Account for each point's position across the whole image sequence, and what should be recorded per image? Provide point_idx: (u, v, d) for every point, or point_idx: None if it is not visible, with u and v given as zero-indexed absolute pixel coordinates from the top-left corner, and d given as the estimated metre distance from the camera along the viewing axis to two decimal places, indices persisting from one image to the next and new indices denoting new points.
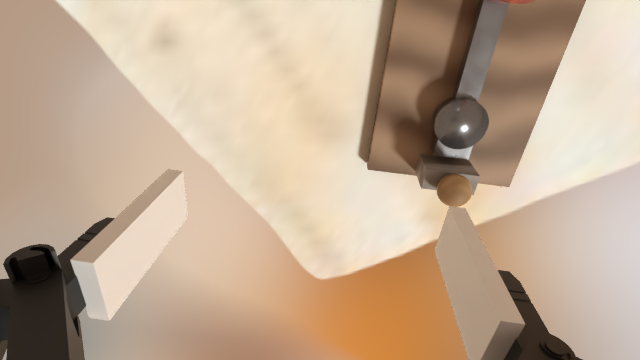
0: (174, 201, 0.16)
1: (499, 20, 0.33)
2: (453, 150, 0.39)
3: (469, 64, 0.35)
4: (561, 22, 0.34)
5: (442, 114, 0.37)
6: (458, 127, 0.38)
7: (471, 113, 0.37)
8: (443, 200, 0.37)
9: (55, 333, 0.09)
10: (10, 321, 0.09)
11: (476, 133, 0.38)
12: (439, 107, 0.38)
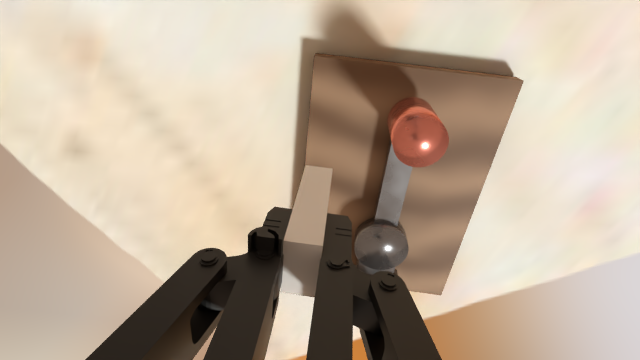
0: None
1: None
2: (376, 269, 0.38)
3: (384, 194, 0.34)
4: (479, 153, 0.33)
5: (360, 239, 0.36)
6: (378, 251, 0.36)
7: (389, 239, 0.35)
8: None
9: (256, 312, 0.10)
10: (236, 282, 0.11)
11: (397, 256, 0.36)
12: (359, 228, 0.37)
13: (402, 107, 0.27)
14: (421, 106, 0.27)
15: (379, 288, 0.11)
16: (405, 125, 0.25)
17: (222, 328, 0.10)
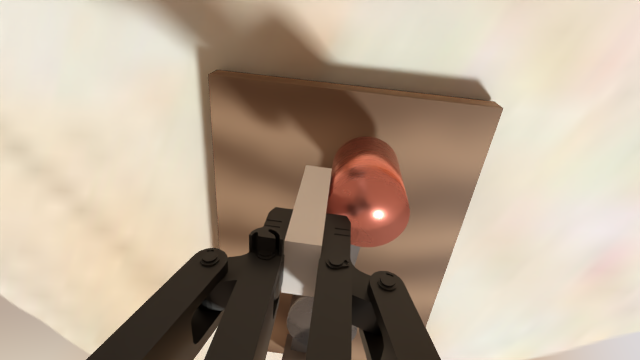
0: None
1: None
2: None
3: None
4: (447, 204, 0.24)
5: (293, 312, 0.27)
6: None
7: None
8: None
9: (256, 312, 0.10)
10: (237, 282, 0.11)
11: None
12: None
13: (350, 152, 0.19)
14: (376, 155, 0.18)
15: (378, 288, 0.11)
16: (344, 187, 0.16)
17: (223, 328, 0.10)
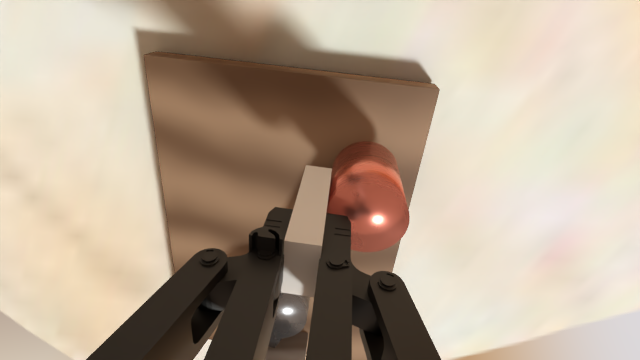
0: None
1: None
2: None
3: None
4: None
5: None
6: None
7: (286, 306, 0.26)
8: None
9: (256, 312, 0.10)
10: (237, 282, 0.11)
11: (288, 328, 0.27)
12: None
13: (360, 154, 0.19)
14: (385, 163, 0.18)
15: (378, 288, 0.11)
16: (354, 187, 0.16)
17: (223, 328, 0.10)
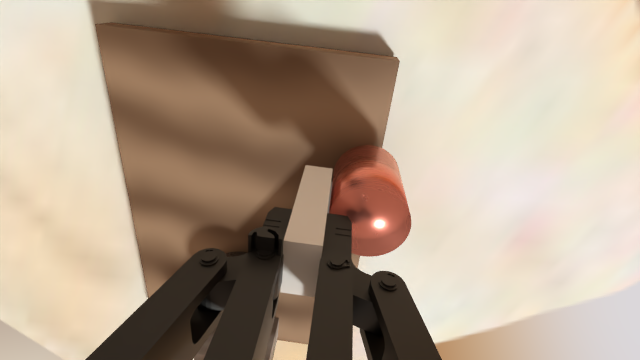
0: None
1: None
2: None
3: None
4: None
5: None
6: None
7: None
8: None
9: (256, 311, 0.10)
10: (236, 281, 0.11)
11: None
12: None
13: (370, 158, 0.19)
14: (394, 173, 0.18)
15: (379, 288, 0.11)
16: (365, 191, 0.16)
17: (222, 328, 0.10)
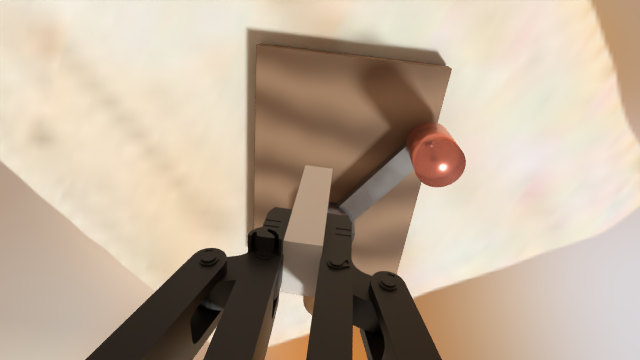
0: None
1: (406, 171, 0.34)
2: None
3: (363, 189, 0.35)
4: None
5: None
6: None
7: None
8: (307, 310, 0.37)
9: (256, 312, 0.10)
10: (236, 282, 0.11)
11: None
12: None
13: (435, 128, 0.30)
14: (451, 137, 0.29)
15: (379, 288, 0.11)
16: (439, 144, 0.27)
17: (222, 328, 0.10)
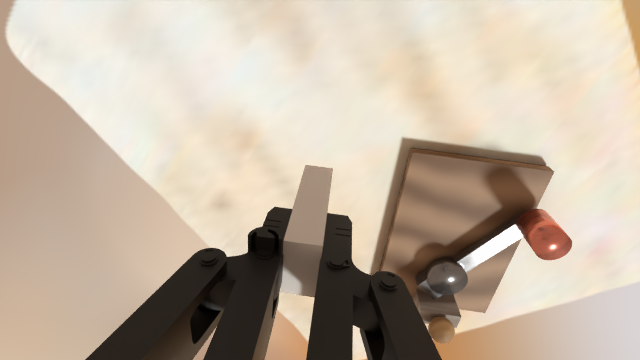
0: None
1: (513, 239, 0.47)
2: (430, 290, 0.51)
3: (478, 250, 0.48)
4: None
5: (442, 268, 0.49)
6: (445, 280, 0.50)
7: (458, 278, 0.49)
8: (433, 338, 0.49)
9: (256, 312, 0.10)
10: (236, 282, 0.11)
11: (452, 289, 0.51)
12: (441, 259, 0.50)
13: (545, 217, 0.42)
14: (557, 224, 0.42)
15: (379, 288, 0.11)
16: (555, 234, 0.40)
17: (222, 328, 0.10)
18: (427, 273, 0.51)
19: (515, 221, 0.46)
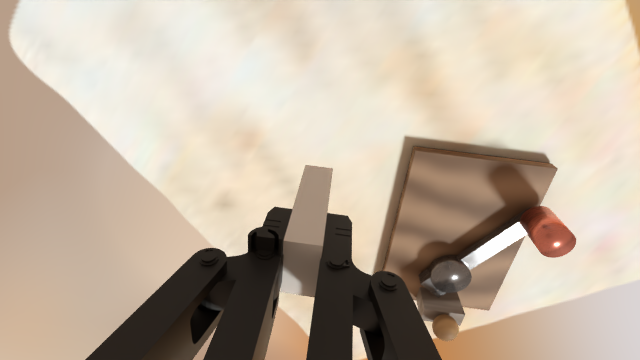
0: None
1: (516, 237, 0.47)
2: (434, 288, 0.51)
3: (482, 248, 0.48)
4: None
5: (445, 266, 0.49)
6: (448, 278, 0.50)
7: (462, 275, 0.49)
8: (437, 336, 0.49)
9: (256, 311, 0.10)
10: (236, 282, 0.11)
11: (455, 287, 0.51)
12: (445, 257, 0.50)
13: (548, 214, 0.42)
14: None
15: (379, 288, 0.11)
16: (559, 231, 0.40)
17: (222, 328, 0.10)
18: (431, 271, 0.51)
19: (519, 218, 0.46)
